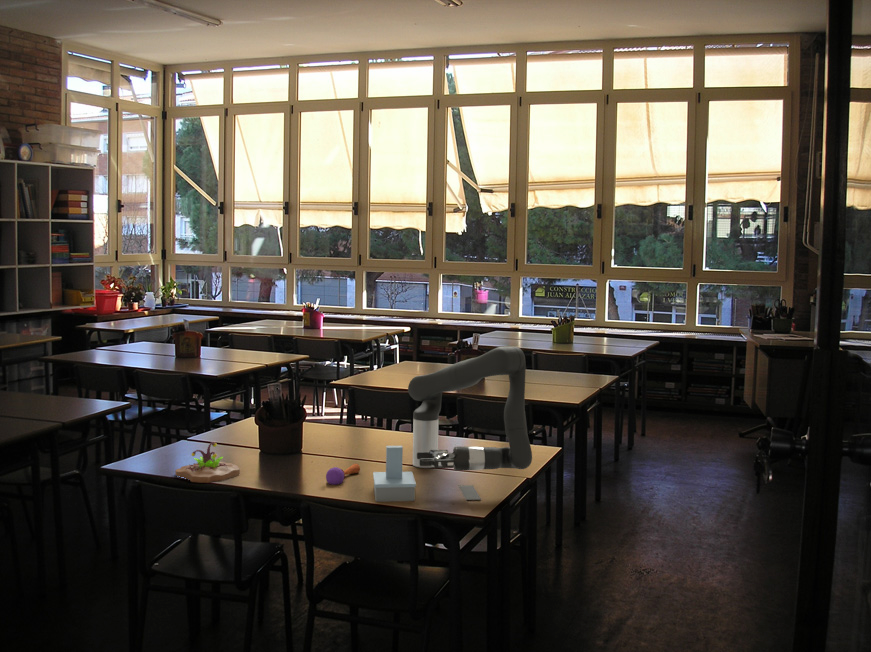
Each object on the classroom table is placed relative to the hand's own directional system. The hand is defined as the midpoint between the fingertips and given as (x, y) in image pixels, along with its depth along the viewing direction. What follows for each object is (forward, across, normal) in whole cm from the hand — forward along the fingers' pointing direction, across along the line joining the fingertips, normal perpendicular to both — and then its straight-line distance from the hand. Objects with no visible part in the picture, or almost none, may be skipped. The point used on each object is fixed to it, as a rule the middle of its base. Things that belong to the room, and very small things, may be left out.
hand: (418, 458), depth 253 cm
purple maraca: (+23, -21, +12) cm, 34 cm away
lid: (+8, 0, +7) cm, 10 cm away
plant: (+69, -31, +13) cm, 77 cm away
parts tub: (+8, 0, +12) cm, 14 cm away
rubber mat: (-12, -2, +12) cm, 17 cm away
